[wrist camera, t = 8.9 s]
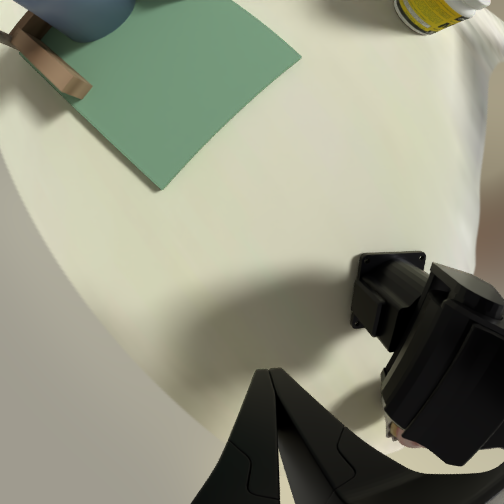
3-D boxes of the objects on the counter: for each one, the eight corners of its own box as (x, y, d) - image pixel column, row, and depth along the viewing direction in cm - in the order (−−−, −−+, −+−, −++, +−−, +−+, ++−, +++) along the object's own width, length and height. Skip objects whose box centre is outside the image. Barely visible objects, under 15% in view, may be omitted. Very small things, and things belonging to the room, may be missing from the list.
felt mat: (299, 59, 16) (301, 56, 16) (163, 189, 18) (161, 190, 18) (132, -50, 11) (130, -54, 10) (22, 54, 13) (18, 53, 12)
